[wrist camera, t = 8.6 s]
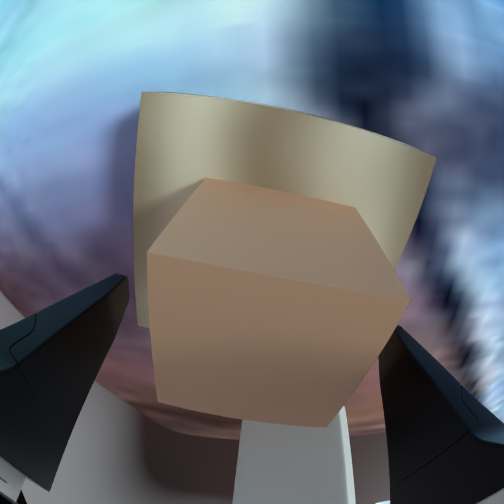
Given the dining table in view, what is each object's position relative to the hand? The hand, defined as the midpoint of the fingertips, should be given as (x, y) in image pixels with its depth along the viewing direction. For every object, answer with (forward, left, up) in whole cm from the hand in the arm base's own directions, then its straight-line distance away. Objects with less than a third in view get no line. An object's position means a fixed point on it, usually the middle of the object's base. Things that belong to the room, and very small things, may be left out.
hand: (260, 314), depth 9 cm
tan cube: (0, 0, -4) cm, 4 cm away
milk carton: (-6, +15, -8) cm, 18 cm away
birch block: (0, 0, -8) cm, 8 cm away
